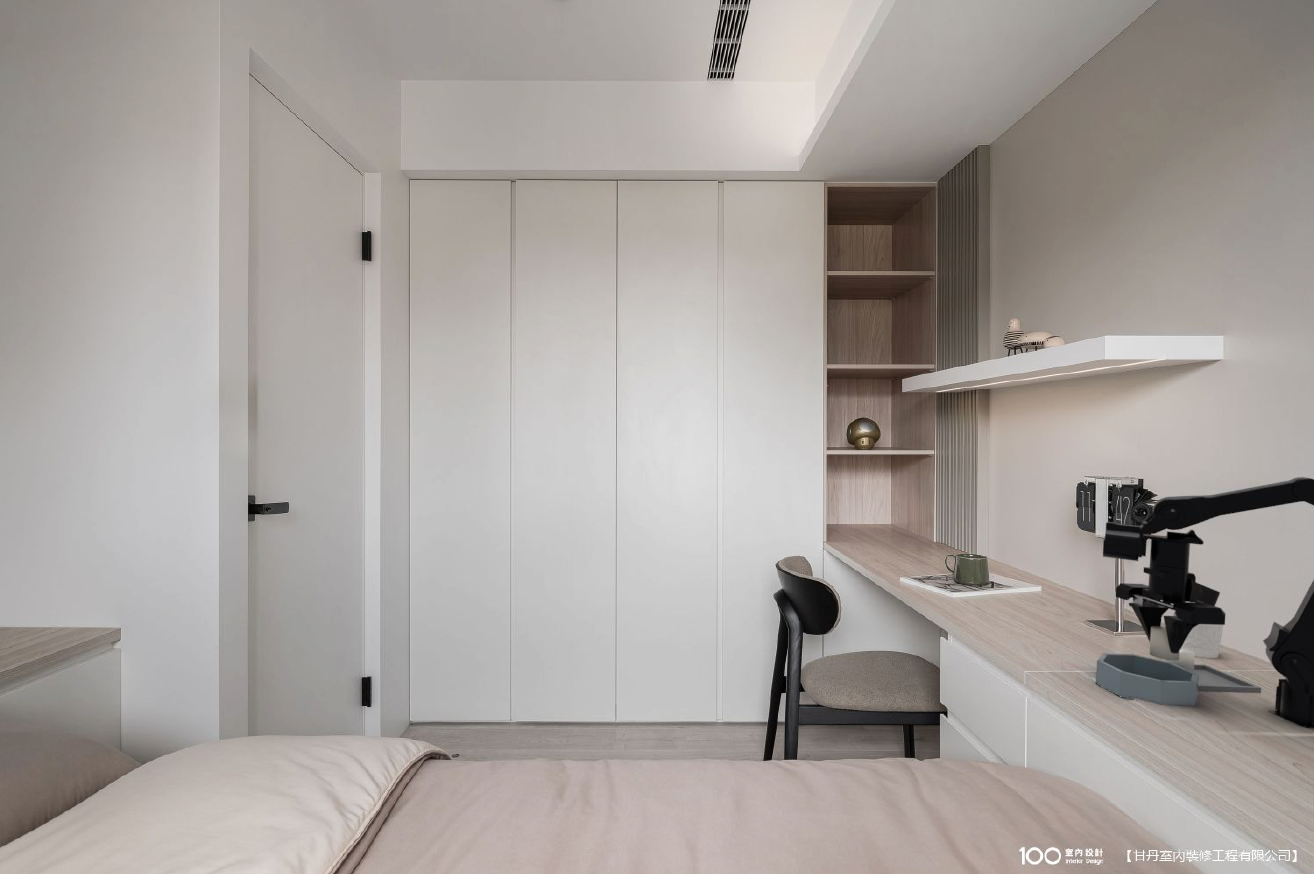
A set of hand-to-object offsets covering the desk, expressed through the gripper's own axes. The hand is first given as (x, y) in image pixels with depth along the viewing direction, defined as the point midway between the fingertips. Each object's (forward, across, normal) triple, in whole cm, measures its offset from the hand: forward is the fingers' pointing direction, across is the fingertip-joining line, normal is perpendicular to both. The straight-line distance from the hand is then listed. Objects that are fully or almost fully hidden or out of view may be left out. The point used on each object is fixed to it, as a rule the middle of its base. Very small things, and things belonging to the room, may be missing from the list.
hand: (1164, 648), depth 124 cm
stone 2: (+8, +8, -10) cm, 15 cm away
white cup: (+8, +22, -27) cm, 36 cm away
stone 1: (+1, 0, 0) cm, 1 cm away
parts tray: (+8, +6, -12) cm, 16 cm away
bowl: (+8, 0, +3) cm, 9 cm away
